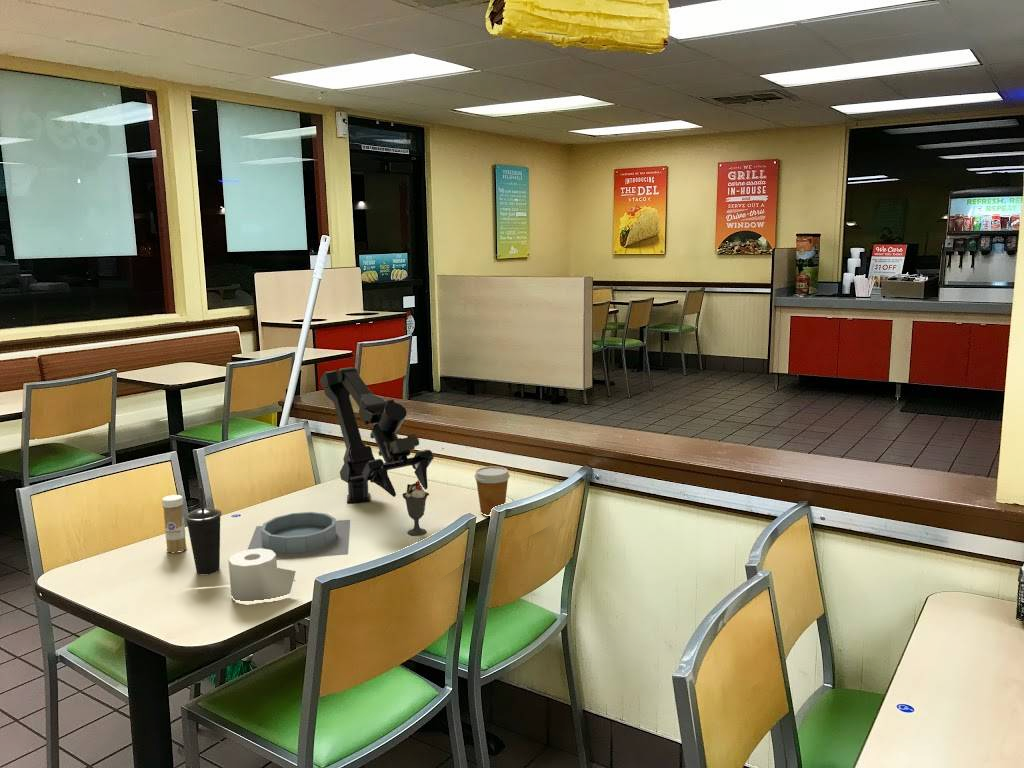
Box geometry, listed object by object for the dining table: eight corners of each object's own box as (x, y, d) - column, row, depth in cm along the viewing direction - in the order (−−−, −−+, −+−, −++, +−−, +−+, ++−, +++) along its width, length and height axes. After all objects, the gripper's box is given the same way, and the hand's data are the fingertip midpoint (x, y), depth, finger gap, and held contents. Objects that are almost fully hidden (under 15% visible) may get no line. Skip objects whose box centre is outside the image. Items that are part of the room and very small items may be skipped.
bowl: (267, 529, 205) (266, 514, 205) (337, 524, 208) (336, 510, 208) (258, 555, 188) (257, 539, 188) (334, 550, 191) (333, 534, 191)
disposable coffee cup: (517, 512, 217) (516, 470, 215) (492, 522, 210) (492, 478, 208) (492, 505, 223) (491, 463, 221) (467, 514, 216) (466, 471, 214)
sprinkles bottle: (165, 555, 191) (160, 501, 188) (167, 548, 195) (162, 495, 193) (186, 552, 192) (181, 499, 190) (188, 545, 196) (183, 493, 194)
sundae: (428, 537, 200) (426, 479, 197) (402, 537, 200) (399, 479, 197) (431, 527, 206) (430, 471, 204) (405, 527, 207) (403, 472, 204)
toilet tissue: (297, 599, 166) (294, 560, 165) (230, 607, 163) (226, 568, 161) (296, 581, 175) (294, 544, 173) (232, 589, 172) (229, 551, 170)
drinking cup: (217, 562, 186) (210, 479, 182) (232, 571, 181) (225, 486, 177) (184, 572, 181) (176, 487, 177) (198, 581, 175) (191, 494, 172)
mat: (256, 527, 208) (256, 526, 208) (350, 521, 212) (350, 519, 212) (242, 564, 185) (242, 562, 185) (348, 555, 189) (347, 554, 189)
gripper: (364, 430, 199) (388, 482, 192) (429, 419, 210) (453, 468, 203) (352, 454, 207) (374, 506, 200) (415, 443, 218) (437, 491, 211)
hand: (410, 492), depth 203 cm, fingers open, 9 cm apart
